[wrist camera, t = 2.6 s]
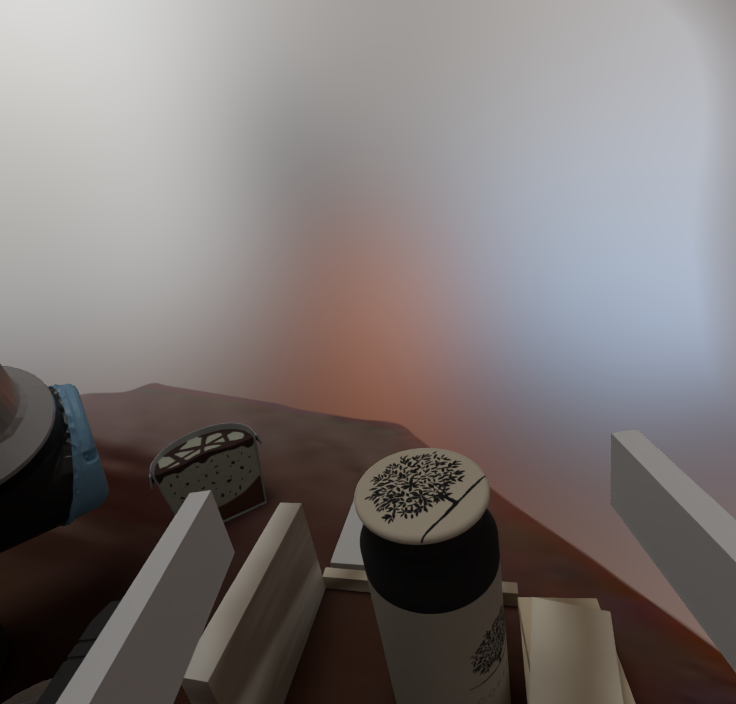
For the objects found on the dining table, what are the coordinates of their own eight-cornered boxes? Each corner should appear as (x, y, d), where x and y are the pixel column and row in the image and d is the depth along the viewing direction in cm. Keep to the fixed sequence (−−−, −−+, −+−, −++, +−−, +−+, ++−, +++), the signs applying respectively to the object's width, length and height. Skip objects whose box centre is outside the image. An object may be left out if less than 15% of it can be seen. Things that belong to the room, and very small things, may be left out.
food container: (266, 473, 58) (246, 409, 55) (279, 497, 53) (257, 428, 50) (172, 513, 54) (143, 447, 50) (175, 545, 48) (144, 473, 45)
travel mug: (374, 685, 31) (323, 488, 25) (450, 615, 35) (423, 430, 29) (453, 797, 25) (413, 572, 19) (535, 697, 29) (526, 482, 22)
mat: (332, 570, 42) (330, 562, 41) (358, 498, 50) (356, 491, 50) (435, 578, 39) (434, 570, 38) (443, 501, 48) (442, 493, 47)
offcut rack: (219, 795, 27) (166, 696, 23) (309, 577, 41) (284, 494, 38) (692, 919, 20) (719, 803, 16) (603, 603, 34) (607, 504, 30)
